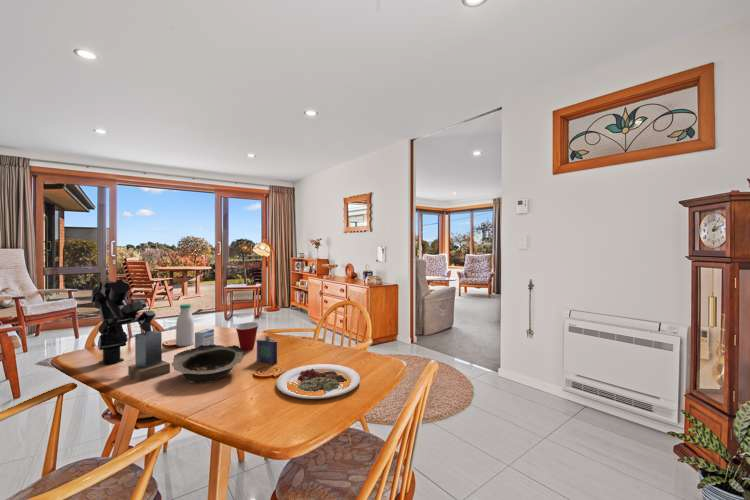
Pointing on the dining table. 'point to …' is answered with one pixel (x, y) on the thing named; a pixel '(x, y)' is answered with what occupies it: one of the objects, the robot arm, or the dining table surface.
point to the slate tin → (148, 349)
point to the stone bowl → (207, 362)
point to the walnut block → (148, 371)
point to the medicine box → (204, 337)
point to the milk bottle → (185, 326)
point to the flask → (267, 350)
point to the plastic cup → (247, 335)
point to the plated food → (318, 380)
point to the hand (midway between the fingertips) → (139, 338)
